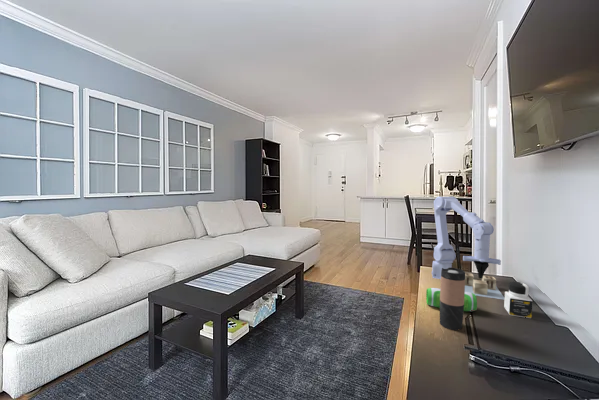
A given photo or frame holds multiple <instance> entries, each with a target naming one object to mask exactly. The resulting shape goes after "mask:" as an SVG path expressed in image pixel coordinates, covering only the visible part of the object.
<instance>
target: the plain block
mask: <svg viewBox="0 0 599 400" xmlns="http://www.w3.org/2000/svg"><path fill="white" fill-rule="evenodd" d="M487 290H488V284H487V282H486V281H482V279H475V278H474V279H473V292H474V293H475V294H482V295H487Z"/></svg>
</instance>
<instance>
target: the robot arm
mask: <svg viewBox="0 0 599 400" xmlns="http://www.w3.org/2000/svg"><path fill="white" fill-rule="evenodd" d="M433 208H434V211H433V212H434V220H435V222H434V223H435V230H436V239H437V244H436V246H434V248H433V258H434V260H433V261H432V265H431V267H432V270H431V276H432V279H436V280H437V279H439V280H441V269H442V268H443V269H448V268H453V267H452V265H453V264H452V263H454V261H455V260H456V256H457V255H456V252H455V250H454V249H455V248H454V246H452V244H450V240H449V231H448V224H447V223H448V222H447V214H448V213H449V212H450V211H451V210H453V211H454V212H456V213H457V214H458V215H460V216H461V217H462V221H463V222H464V223H465V224H467V225H468V226H469V227H470V228H471V229H472V233H473V235H474V236H473V237H474V252H473V253H474V254H473V255H474V256H473V255H469V256H468V255H463V256H462V261H463V262H473V263H474V266H475V268H476V271H477V277H478V279H482V278H483V276H485V275H484V274H485V272H486V271H487V269H488V268H489V266H490V265H489V264H492V265H501V262H502V261H501V259H499V258H498V259H497V258H491V257H490V246H491V245H490V244H491V242H490V241H491V235H493V233H494V230H495V227H494V226H493V224H492V223H491V222H489V221H488V222H486V221H485V220H484V219H482V218H480V217H479V216H478V215H477V213H476V212H471V211H470V212H469V210H468V209H466V208H465V207H464V206H463V205H462V204H461V203H460V202H459V199H457V198H456V196H452V195H451V196H437V197H436V198H435V199H434V200H433Z"/></svg>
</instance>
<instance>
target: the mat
mask: <svg viewBox="0 0 599 400" xmlns="http://www.w3.org/2000/svg"><path fill="white" fill-rule="evenodd" d="M465 292H470V293H473V294H475V293H474V292H473V286H465ZM475 295H476V297H481V298H482V297H484V298H491V299H498V300H504V299H505V295H503V294H502V292H501V291H500V290H499V288H498V287H497V286H496V290H490V289H488V290H487V295H482V294H475Z"/></svg>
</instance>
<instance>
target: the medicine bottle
mask: <svg viewBox="0 0 599 400" xmlns="http://www.w3.org/2000/svg"><path fill="white" fill-rule="evenodd" d="M508 284H509V285H508V291H504V298H505V299H504V301H503V302H504V304H503V308H504V309H505V310H506V312H507V314H508V315H509V316H512V317H520V318H525V317H526V318H525V319H532V317H533V300H532V299H531V297H529V288H530V287H529V285H527V284H525V283H524V282H519V281H511V282H509V283H508Z"/></svg>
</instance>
